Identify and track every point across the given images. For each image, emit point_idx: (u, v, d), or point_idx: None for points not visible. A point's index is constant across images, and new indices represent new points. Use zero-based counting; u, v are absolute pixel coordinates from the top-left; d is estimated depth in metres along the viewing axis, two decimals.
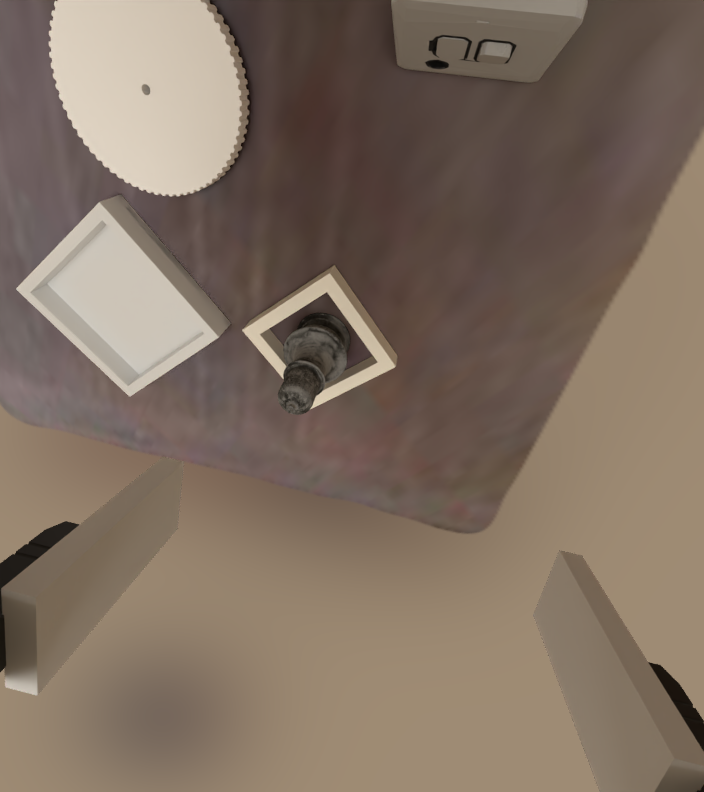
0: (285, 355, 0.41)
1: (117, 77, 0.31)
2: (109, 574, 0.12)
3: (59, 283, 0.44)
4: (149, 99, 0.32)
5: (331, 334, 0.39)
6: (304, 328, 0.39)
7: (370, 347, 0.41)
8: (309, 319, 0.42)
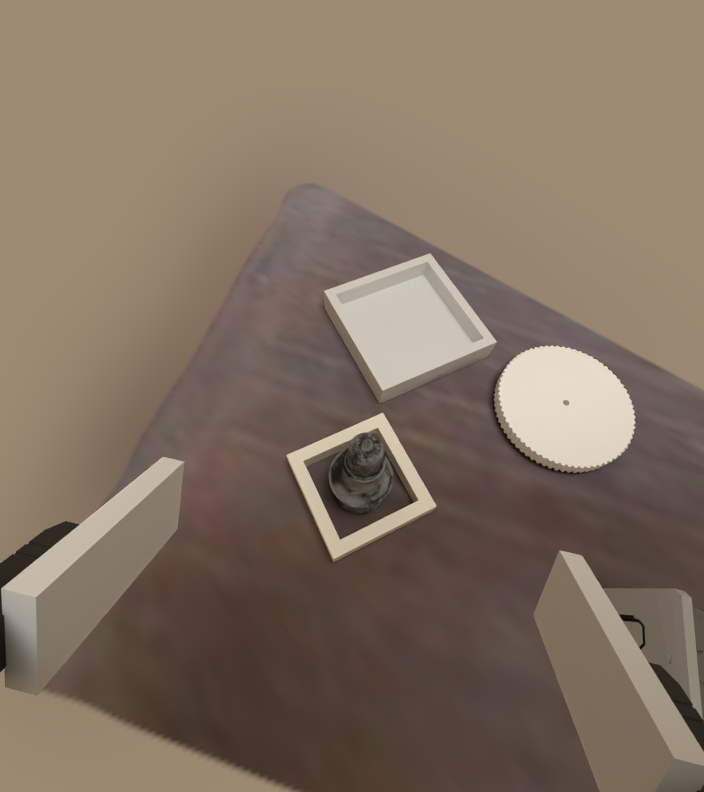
0: None
1: (571, 387, 0.47)
2: (109, 574, 0.12)
3: (424, 283, 0.54)
4: (560, 402, 0.46)
5: (385, 496, 0.40)
6: (392, 471, 0.41)
7: (358, 534, 0.40)
8: None
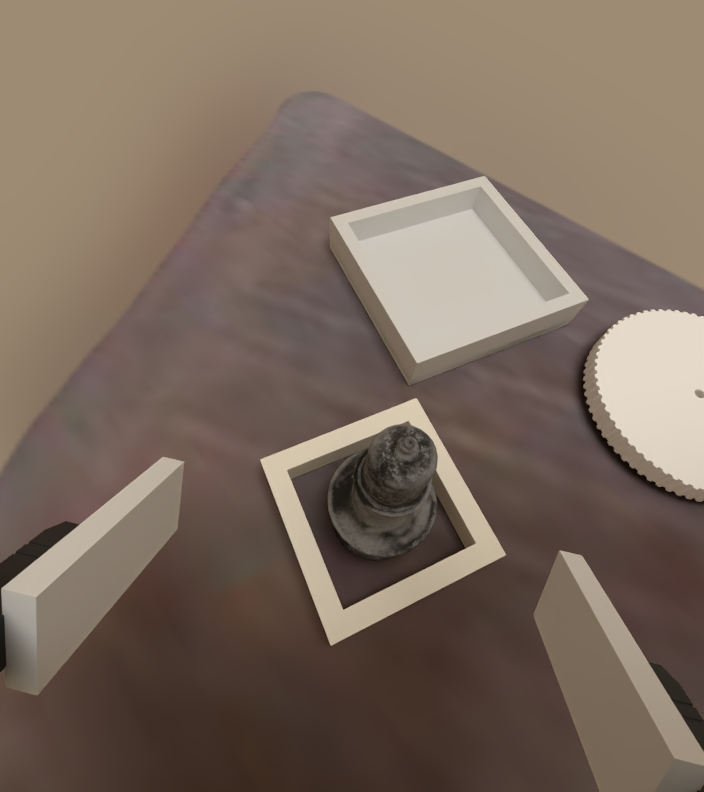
0: None
1: None
2: (109, 574, 0.12)
3: (473, 220, 0.38)
4: (691, 393, 0.30)
5: (423, 538, 0.23)
6: (434, 494, 0.24)
7: (374, 600, 0.23)
8: None
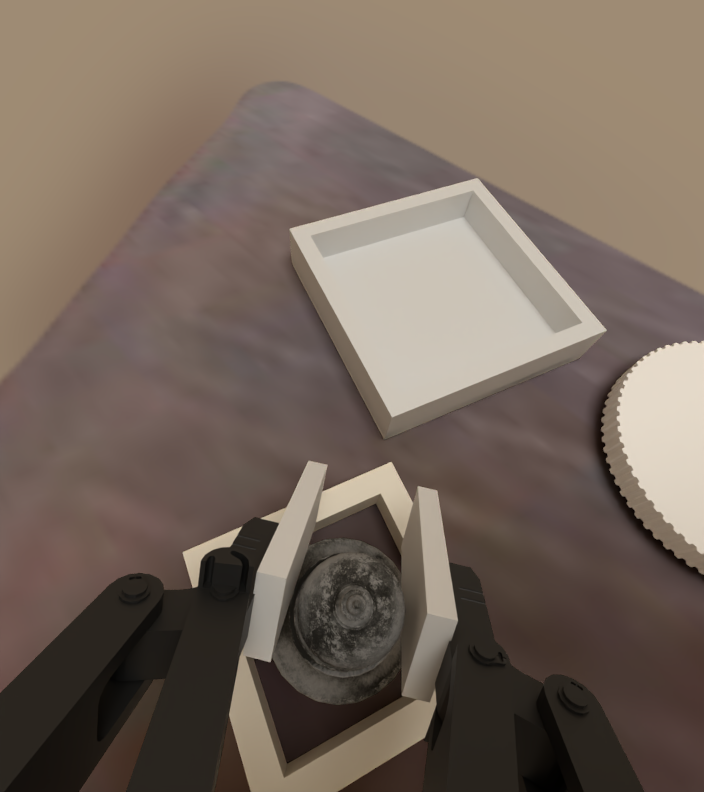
0: (350, 543, 0.19)
1: None
2: (298, 563, 0.14)
3: (464, 230, 0.32)
4: None
5: (394, 674, 0.17)
6: None
7: (328, 761, 0.17)
8: None
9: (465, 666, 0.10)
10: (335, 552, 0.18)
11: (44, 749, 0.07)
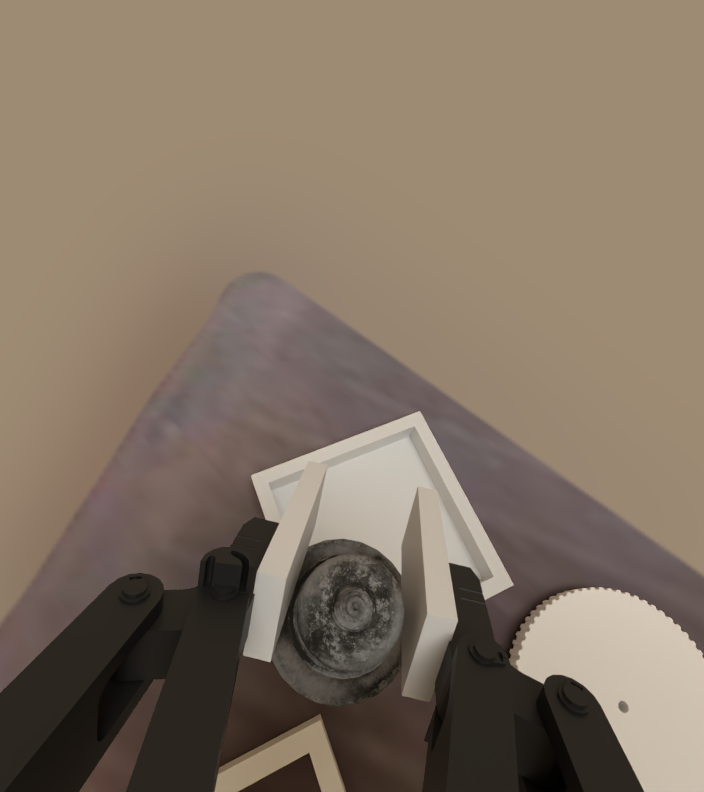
0: (349, 544, 0.19)
1: (632, 674, 0.29)
2: (298, 563, 0.14)
3: (408, 452, 0.37)
4: (614, 706, 0.28)
5: (393, 675, 0.17)
6: None
7: None
8: None
9: (465, 666, 0.10)
10: (334, 553, 0.18)
11: (44, 749, 0.07)
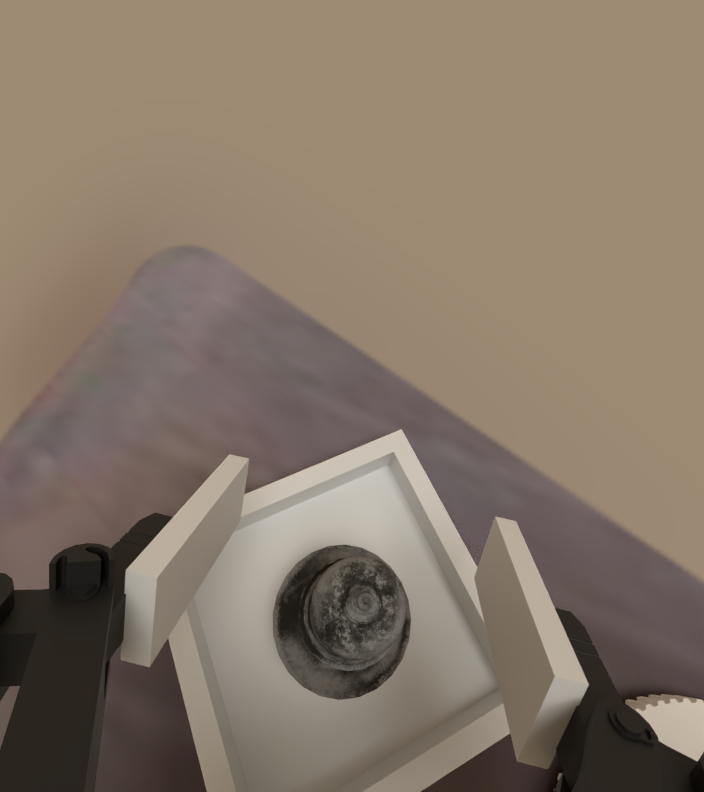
0: (351, 550, 0.20)
1: None
2: (198, 561, 0.13)
3: (386, 489, 0.25)
4: None
5: (392, 671, 0.18)
6: (408, 609, 0.19)
7: None
8: None
9: (603, 733, 0.09)
10: (338, 558, 0.20)
11: None
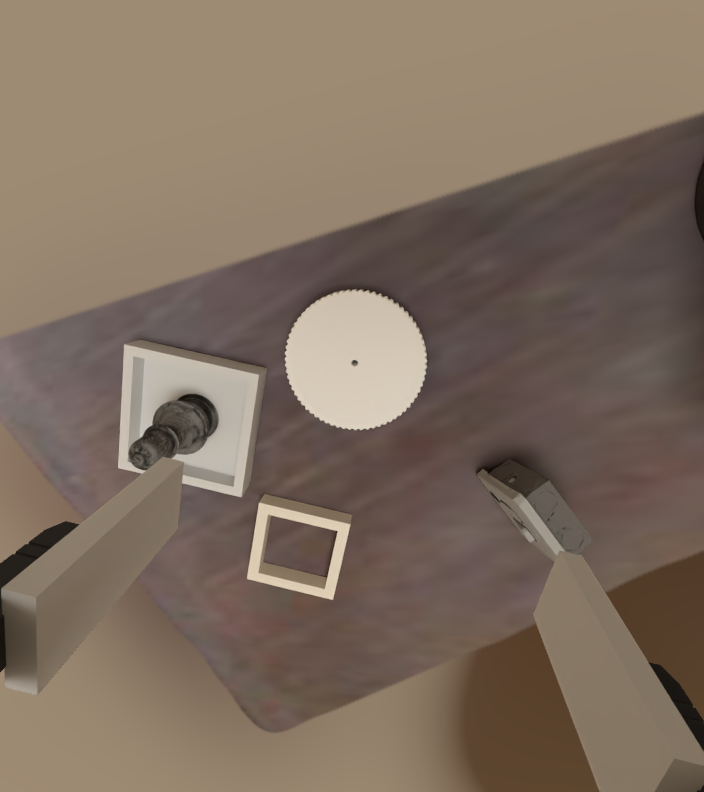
0: (159, 410, 0.45)
1: (346, 343, 0.44)
2: (109, 574, 0.12)
3: (155, 361, 0.48)
4: (351, 367, 0.44)
5: (206, 424, 0.45)
6: (191, 405, 0.45)
7: (329, 578, 0.52)
8: (197, 397, 0.48)
9: None
10: (158, 417, 0.45)
11: None
